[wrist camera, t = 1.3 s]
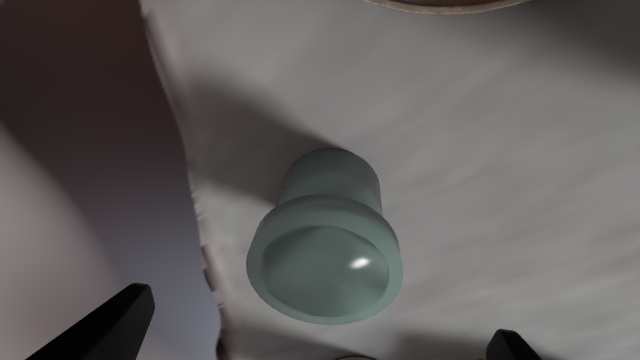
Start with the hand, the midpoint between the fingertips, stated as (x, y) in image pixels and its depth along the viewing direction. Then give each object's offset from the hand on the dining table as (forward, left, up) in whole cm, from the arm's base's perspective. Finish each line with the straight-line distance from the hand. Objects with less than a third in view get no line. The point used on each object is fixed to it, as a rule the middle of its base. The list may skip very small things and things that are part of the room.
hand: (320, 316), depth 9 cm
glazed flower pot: (-3, +3, -13) cm, 13 cm away
